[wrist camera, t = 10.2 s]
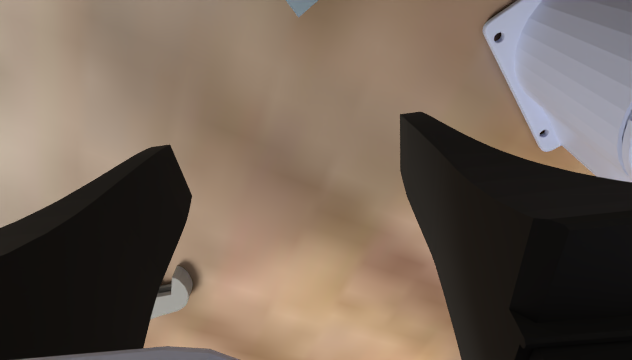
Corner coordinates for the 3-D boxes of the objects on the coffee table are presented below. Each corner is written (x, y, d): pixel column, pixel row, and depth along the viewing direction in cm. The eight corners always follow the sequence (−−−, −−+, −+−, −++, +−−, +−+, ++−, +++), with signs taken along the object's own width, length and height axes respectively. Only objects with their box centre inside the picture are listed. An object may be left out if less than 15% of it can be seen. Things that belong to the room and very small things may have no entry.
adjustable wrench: (89, 379, 42) (81, 395, 41) (33, 358, 40) (22, 375, 38) (205, 277, 31) (199, 295, 30) (136, 241, 29) (126, 257, 27)
